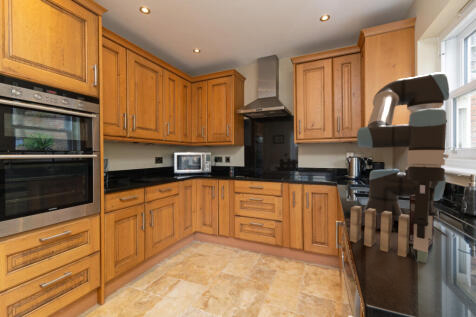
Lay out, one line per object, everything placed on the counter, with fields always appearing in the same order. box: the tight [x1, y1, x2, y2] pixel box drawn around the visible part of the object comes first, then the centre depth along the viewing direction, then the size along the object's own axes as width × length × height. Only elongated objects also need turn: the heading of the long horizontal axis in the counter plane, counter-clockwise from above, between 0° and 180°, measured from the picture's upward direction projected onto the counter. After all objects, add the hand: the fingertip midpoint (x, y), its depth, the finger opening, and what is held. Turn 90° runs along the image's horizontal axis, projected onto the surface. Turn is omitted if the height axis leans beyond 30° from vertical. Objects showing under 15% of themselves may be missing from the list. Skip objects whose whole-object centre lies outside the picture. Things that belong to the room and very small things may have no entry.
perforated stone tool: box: [349, 210, 395, 230], centre depth 80 cm, size 15×5×7 cm, turn 58°
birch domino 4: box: [397, 213, 410, 258], centre depth 58 cm, size 5×2×11 cm, turn 133°
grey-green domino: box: [416, 218, 429, 264], centre depth 55 cm, size 5×2×11 cm, turn 133°
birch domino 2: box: [363, 208, 376, 248], centre depth 64 cm, size 5×2×11 cm, turn 133°
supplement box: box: [408, 194, 434, 247], centre depth 67 cm, size 9×5×16 cm, turn 126°
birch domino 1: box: [349, 205, 363, 243], centre depth 68 cm, size 5×2×11 cm, turn 133°
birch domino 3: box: [379, 211, 393, 253], centre depth 61 cm, size 5×2×11 cm, turn 133°
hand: (423, 243), depth 55 cm, fingers open, 13 cm apart
